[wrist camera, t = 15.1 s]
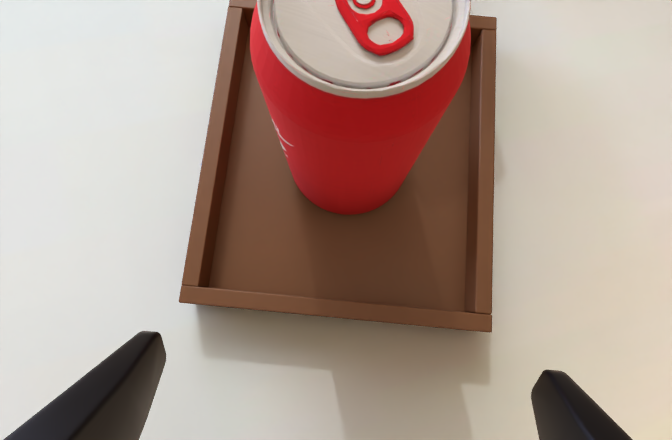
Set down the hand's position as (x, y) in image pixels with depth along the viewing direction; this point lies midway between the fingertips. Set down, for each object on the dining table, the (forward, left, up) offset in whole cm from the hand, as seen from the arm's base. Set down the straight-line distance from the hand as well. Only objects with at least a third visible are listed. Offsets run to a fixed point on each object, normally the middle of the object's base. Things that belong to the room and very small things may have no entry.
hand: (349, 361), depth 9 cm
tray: (+9, 0, -11) cm, 14 cm away
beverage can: (+9, 0, -11) cm, 14 cm away
